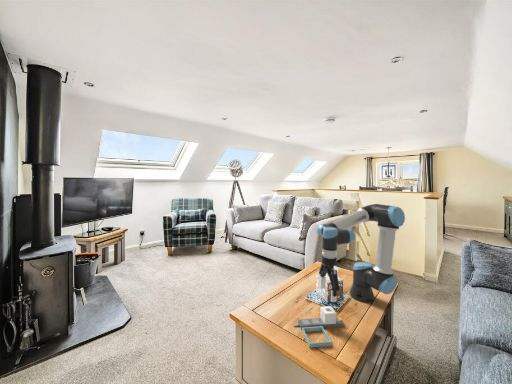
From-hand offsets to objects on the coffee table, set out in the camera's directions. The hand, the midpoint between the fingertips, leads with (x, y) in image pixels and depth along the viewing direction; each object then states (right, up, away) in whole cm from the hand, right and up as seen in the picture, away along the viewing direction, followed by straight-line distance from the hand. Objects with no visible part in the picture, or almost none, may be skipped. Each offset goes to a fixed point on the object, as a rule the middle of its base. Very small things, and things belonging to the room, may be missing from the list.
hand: (327, 294), depth 121 cm
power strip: (-5, -18, 0) cm, 19 cm away
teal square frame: (-9, -18, -10) cm, 23 cm away
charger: (0, -17, +1) cm, 17 cm away
